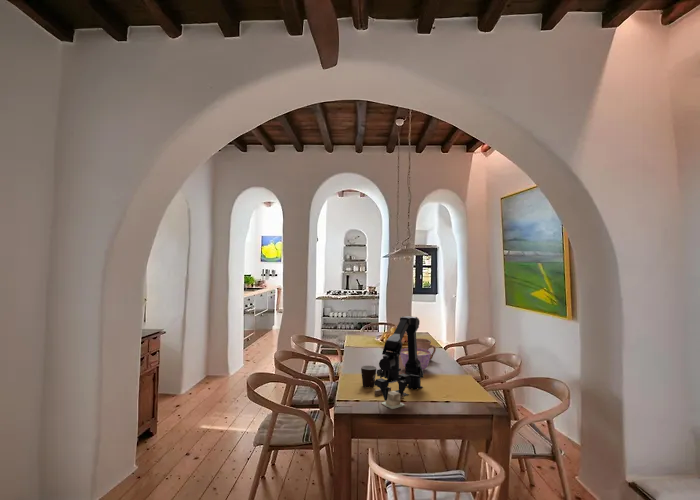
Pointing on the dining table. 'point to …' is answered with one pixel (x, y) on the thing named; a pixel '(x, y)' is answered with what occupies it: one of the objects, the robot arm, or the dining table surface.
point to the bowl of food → (422, 356)
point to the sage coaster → (392, 406)
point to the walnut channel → (379, 392)
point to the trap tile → (403, 393)
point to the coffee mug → (368, 375)
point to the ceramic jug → (425, 345)
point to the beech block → (393, 398)
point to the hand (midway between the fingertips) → (392, 398)
